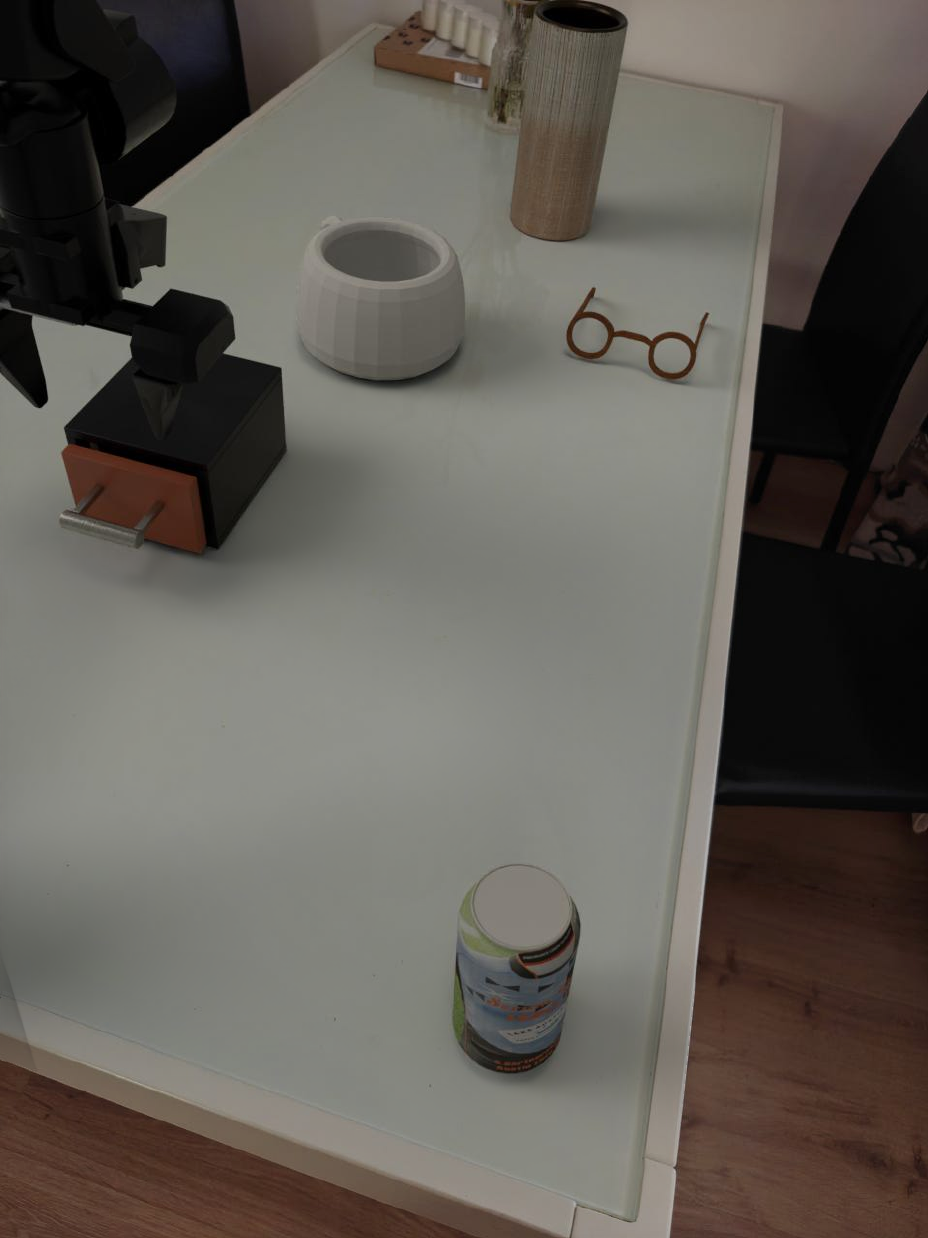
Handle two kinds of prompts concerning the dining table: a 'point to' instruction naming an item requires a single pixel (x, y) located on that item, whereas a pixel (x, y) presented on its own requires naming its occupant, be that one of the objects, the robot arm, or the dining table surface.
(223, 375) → the small drawer box
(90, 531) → the drawer with bar handle
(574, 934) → the beverage can
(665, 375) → the glasses
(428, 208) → the dining table surface
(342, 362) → the mug
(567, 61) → the tall ribbed vase
